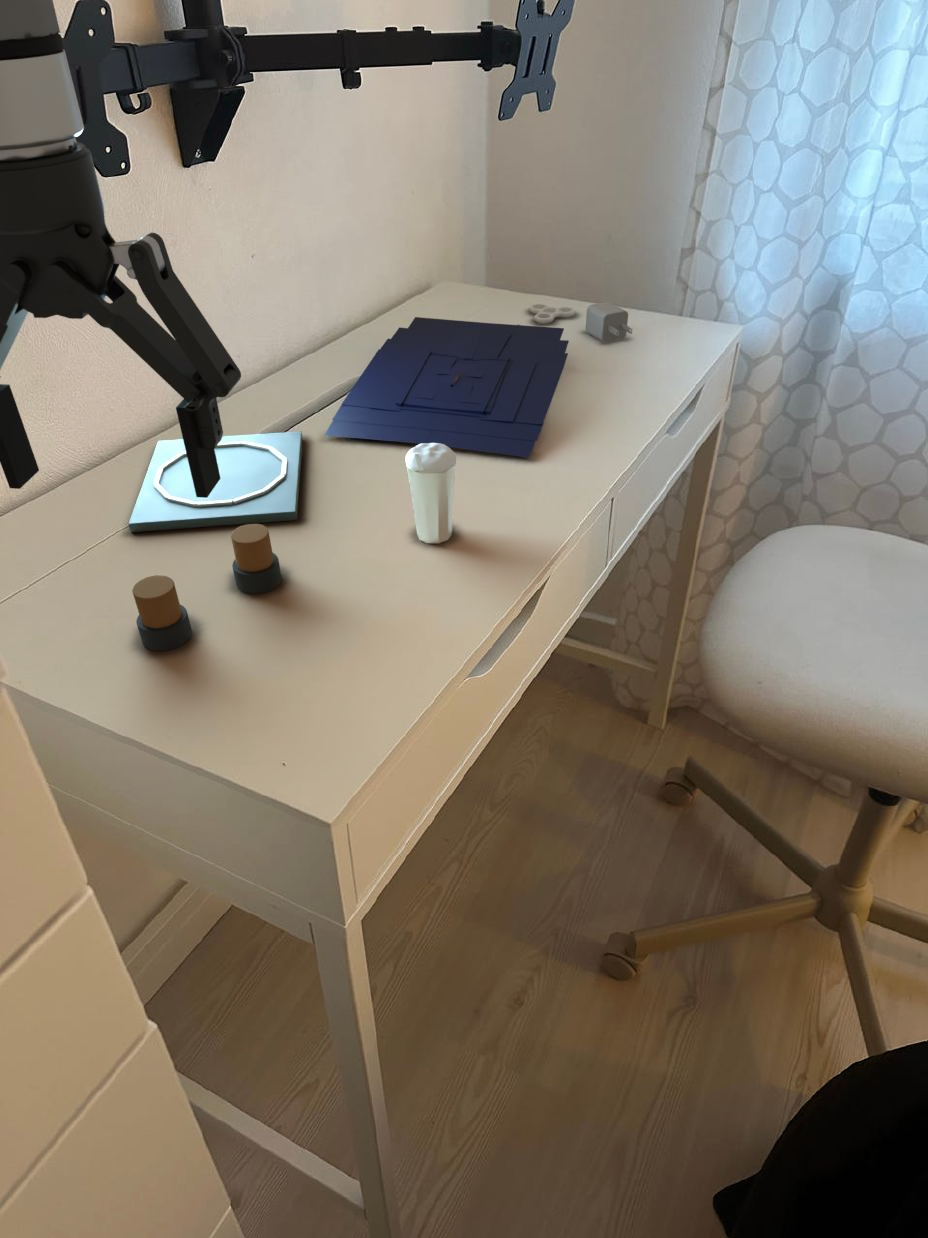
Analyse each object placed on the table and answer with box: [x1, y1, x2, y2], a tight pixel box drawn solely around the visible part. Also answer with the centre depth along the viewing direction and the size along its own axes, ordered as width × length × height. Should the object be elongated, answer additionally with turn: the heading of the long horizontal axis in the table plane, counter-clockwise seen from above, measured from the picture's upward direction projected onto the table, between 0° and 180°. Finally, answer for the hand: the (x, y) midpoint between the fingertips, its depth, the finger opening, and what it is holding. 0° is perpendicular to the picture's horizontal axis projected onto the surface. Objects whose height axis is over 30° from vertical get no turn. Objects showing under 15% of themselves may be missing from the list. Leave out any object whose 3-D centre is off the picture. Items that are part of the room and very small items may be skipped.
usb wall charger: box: [585, 301, 633, 344], centre depth 124 cm, size 4×7×4 cm, turn 25°
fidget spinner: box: [528, 303, 576, 324], centre depth 132 cm, size 7×6×1 cm
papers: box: [324, 316, 570, 458], centre depth 110 cm, size 24×30×4 cm
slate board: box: [128, 430, 303, 533], centre depth 94 cm, size 16×18×1 cm
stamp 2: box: [230, 523, 282, 595], centre depth 78 cm, size 4×4×5 cm
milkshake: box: [404, 443, 457, 544], centre depth 82 cm, size 4×5×10 cm
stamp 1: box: [132, 574, 193, 652], centre depth 72 cm, size 4×4×5 cm
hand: (115, 484), depth 63 cm, fingers open, 13 cm apart
